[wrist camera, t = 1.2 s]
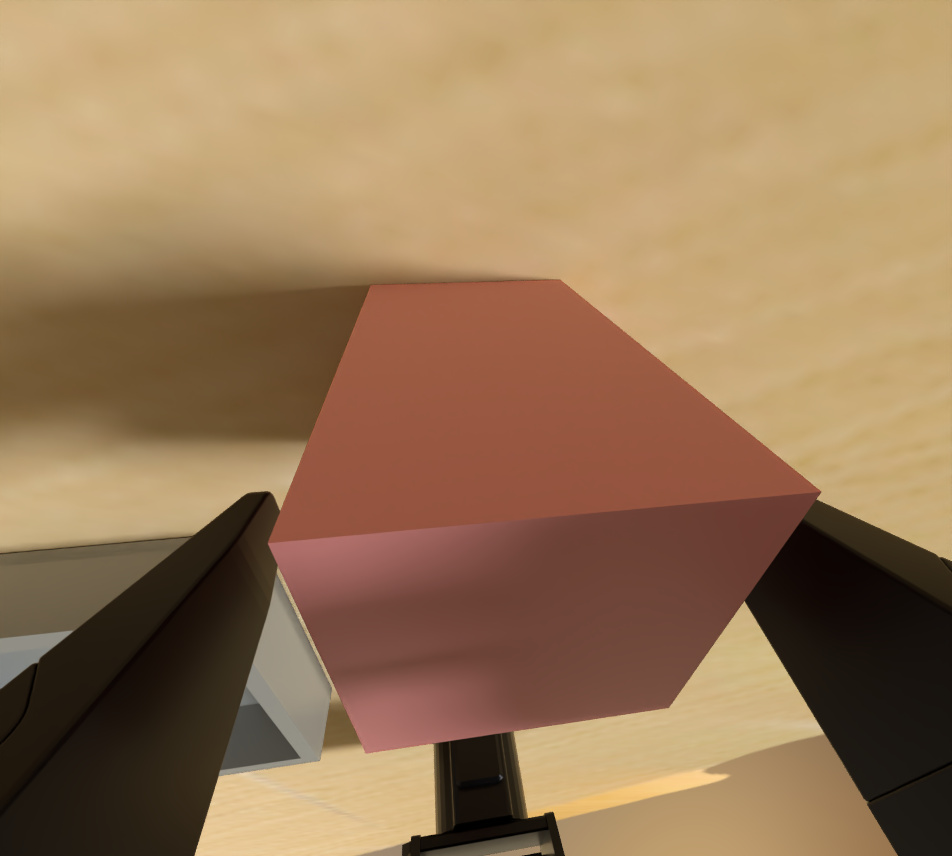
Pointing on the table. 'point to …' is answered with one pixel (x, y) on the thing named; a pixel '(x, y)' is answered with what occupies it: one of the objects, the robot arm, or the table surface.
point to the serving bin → (109, 574)
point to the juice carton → (518, 517)
